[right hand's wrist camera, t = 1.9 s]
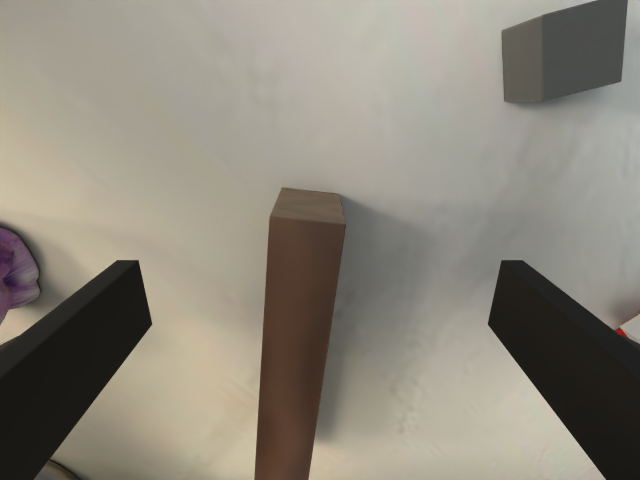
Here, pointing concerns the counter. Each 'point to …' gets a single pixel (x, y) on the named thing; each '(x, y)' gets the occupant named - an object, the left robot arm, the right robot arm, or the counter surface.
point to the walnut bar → (296, 328)
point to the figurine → (16, 273)
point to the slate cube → (564, 51)
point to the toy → (631, 329)
